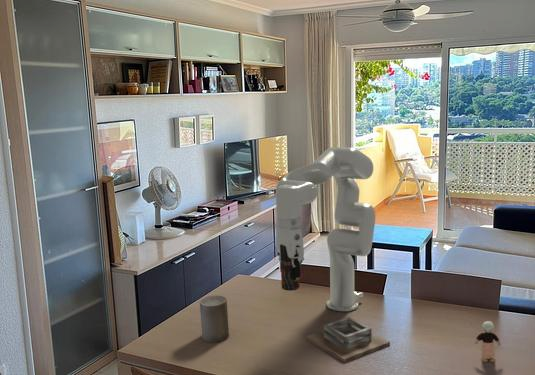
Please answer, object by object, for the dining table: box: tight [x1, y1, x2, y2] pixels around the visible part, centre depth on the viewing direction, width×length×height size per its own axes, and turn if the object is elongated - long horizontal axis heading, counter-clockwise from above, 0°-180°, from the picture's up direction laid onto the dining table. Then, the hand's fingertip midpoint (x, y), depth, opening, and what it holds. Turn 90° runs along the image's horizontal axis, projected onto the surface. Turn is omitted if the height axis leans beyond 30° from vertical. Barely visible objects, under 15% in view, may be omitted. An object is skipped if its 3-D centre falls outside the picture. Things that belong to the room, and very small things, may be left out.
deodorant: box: [280, 245, 300, 292], centre depth 174 cm, size 6×6×15 cm
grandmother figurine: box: [474, 320, 502, 363], centre depth 163 cm, size 8×4×13 cm, turn 92°
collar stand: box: [306, 316, 391, 363], centre depth 179 cm, size 20×20×6 cm
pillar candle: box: [199, 294, 230, 343], centre depth 185 cm, size 10×10×15 cm
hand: (290, 274), depth 175 cm, fingers closed on deodorant, 5 cm apart
